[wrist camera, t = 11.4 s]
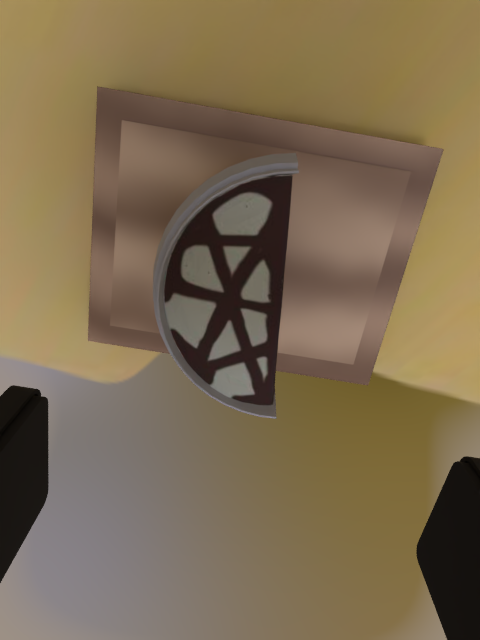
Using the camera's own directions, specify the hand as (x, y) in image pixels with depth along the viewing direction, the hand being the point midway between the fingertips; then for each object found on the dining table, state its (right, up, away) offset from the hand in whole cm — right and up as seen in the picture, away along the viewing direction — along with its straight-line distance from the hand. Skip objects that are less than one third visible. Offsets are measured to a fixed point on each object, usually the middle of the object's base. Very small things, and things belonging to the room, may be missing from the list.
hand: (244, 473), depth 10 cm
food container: (-1, +8, +18) cm, 20 cm away
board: (+1, +9, +21) cm, 23 cm away
